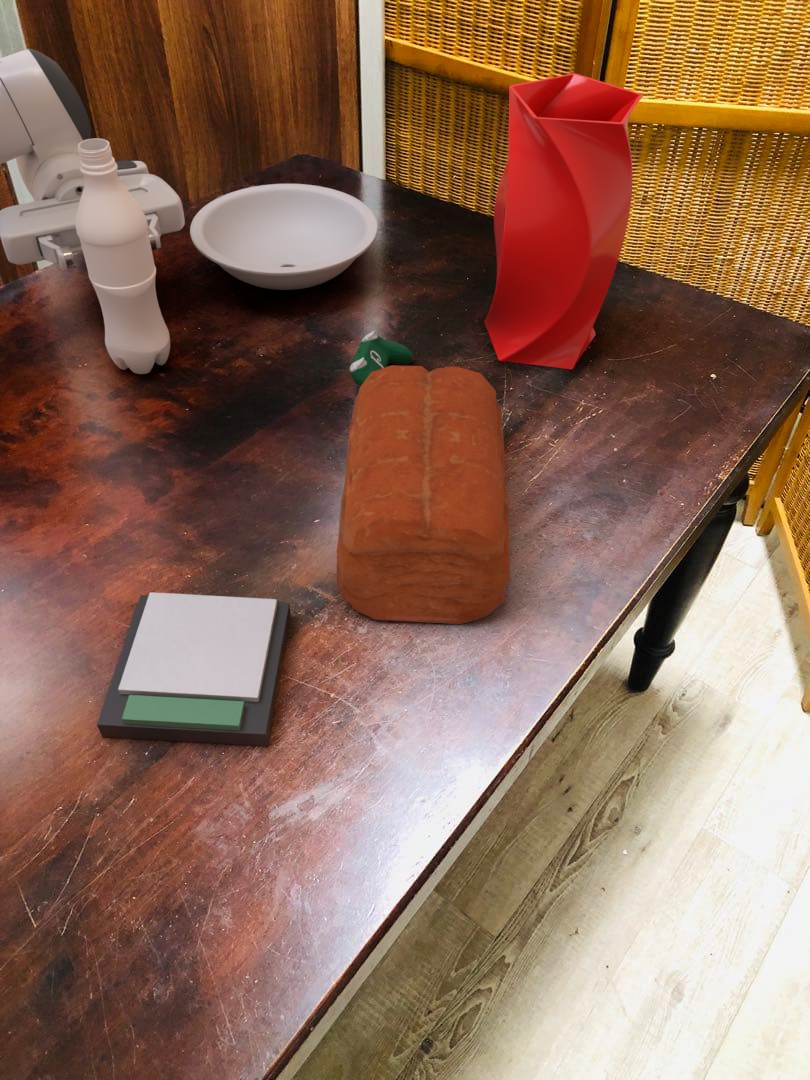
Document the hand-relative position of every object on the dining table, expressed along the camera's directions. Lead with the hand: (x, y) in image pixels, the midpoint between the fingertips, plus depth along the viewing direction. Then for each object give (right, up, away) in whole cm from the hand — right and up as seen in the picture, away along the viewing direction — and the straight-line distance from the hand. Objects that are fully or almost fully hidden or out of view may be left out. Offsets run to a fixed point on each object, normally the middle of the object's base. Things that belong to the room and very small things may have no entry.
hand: (111, 252), depth 96 cm
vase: (+49, -6, +14) cm, 51 cm away
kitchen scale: (+15, -42, -23) cm, 50 cm away
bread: (+34, -29, -9) cm, 45 cm away
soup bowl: (+16, +5, +22) cm, 28 cm away
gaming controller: (+29, -13, +6) cm, 32 cm away
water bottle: (+1, -10, +7) cm, 13 cm away
